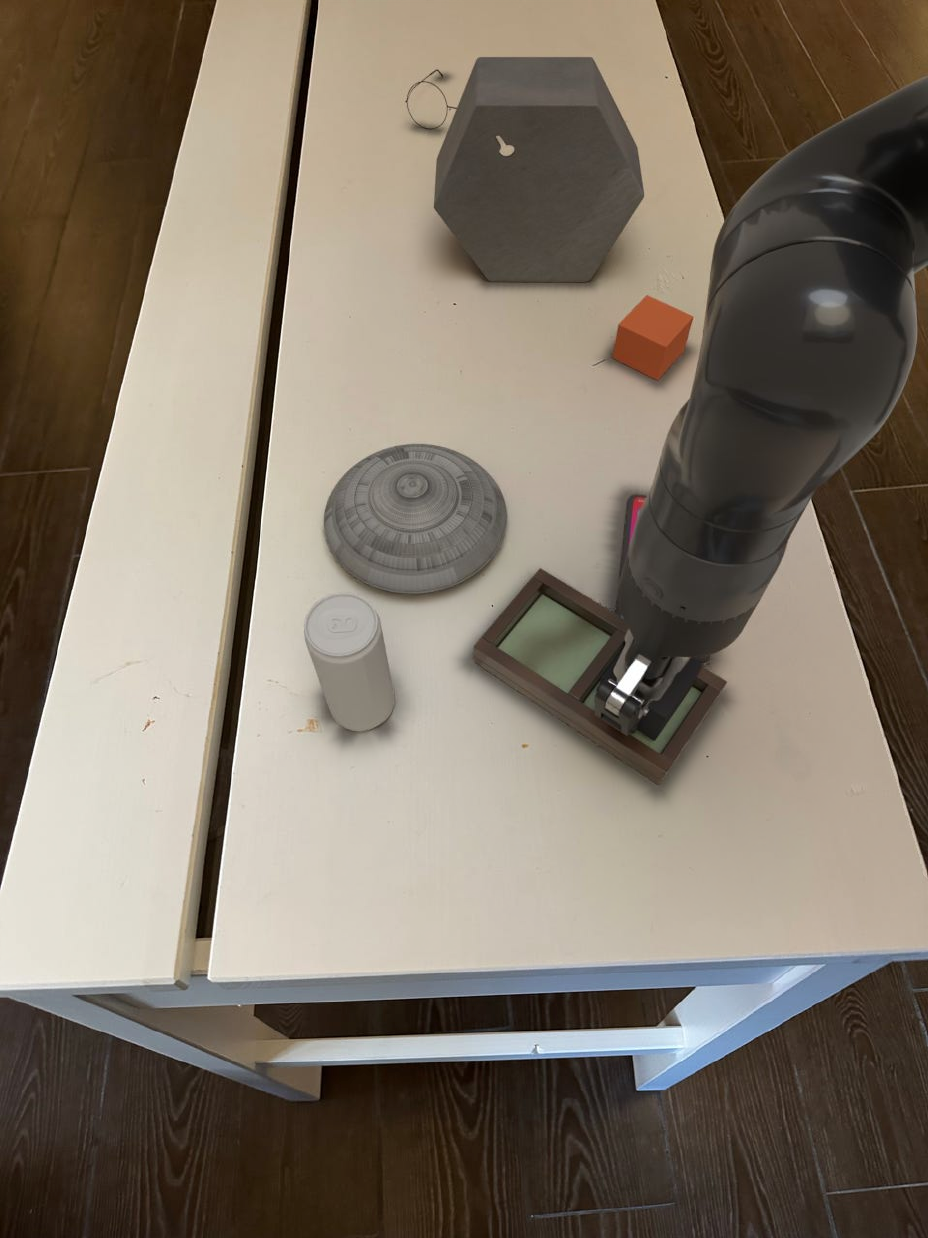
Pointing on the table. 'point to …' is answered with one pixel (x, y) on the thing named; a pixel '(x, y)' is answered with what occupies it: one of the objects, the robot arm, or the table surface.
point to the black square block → (663, 697)
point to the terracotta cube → (652, 337)
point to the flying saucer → (415, 519)
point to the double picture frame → (582, 670)
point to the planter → (537, 169)
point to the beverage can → (350, 660)
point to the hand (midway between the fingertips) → (643, 693)
